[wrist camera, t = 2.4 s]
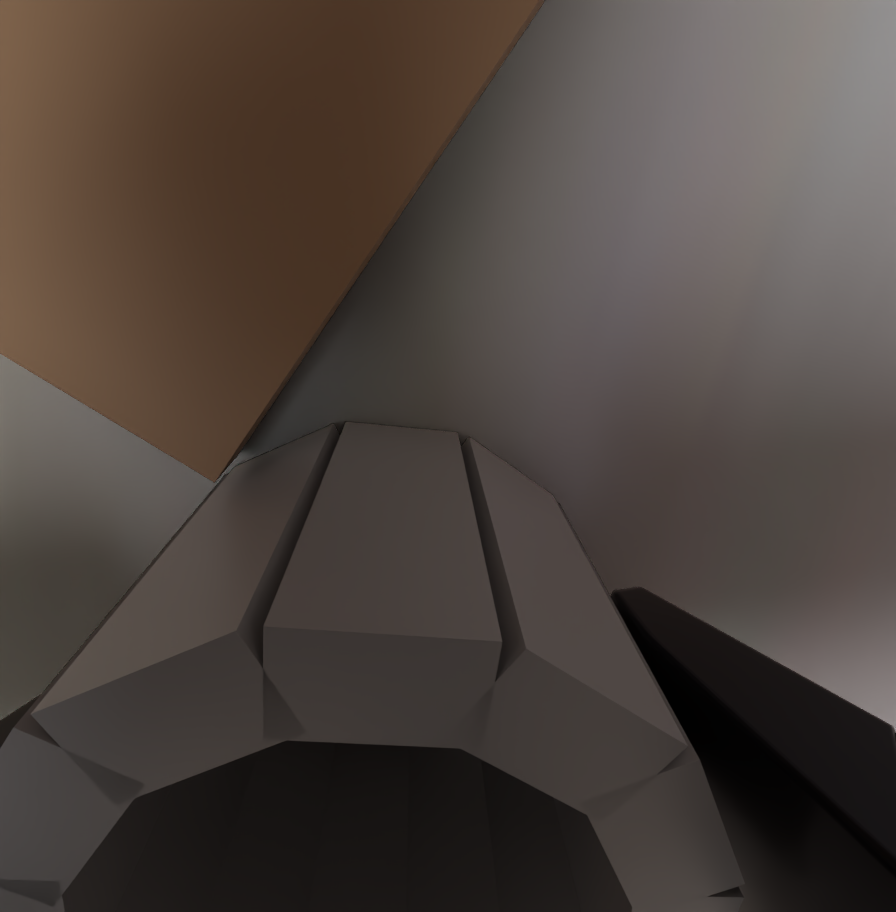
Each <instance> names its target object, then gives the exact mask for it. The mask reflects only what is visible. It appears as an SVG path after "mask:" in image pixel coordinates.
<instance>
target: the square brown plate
mask: <svg viewBox="0 0 896 912" xmlns="http://www.w3.org/2000/svg"><path fill="white" fill-rule="evenodd" d="M544 2H545V0H0V354H2V355H4V356H5V357H7V358H9V359H10V360H12V361H14V362H15V363H17V364H19V365H20V366H22V367H24V368H25V369H27V370H28V371H30V372H32V373H33V374H35V375H37V376H38V377H40V378H42V379H43V380H45V381H47V382H48V383H50V384H52V385H53V386H55V387H57V388H58V389H60V390H62V391H63V392H65V393H67V394H68V395H70V396H72V397H73V398H75V399H77V400H78V401H80V402H82V403H83V404H85V405H87V406H88V407H90V408H92V409H93V410H95V411H97V412H98V413H100V414H102V415H103V416H105V417H106V418H108V419H110V420H111V421H113V422H115V423H116V424H118V425H120V426H121V427H123V428H125V429H126V430H128V431H130V432H131V433H133V434H135V435H136V436H138V437H140V438H141V439H143V440H145V441H146V442H148V443H150V444H151V445H153V446H155V447H156V448H158V449H160V450H161V451H163V452H165V453H166V454H168V455H170V456H171V457H173V458H175V459H176V460H178V461H180V462H181V463H183V464H184V465H186V466H188V467H189V468H191V469H193V470H194V471H196V472H198V473H199V474H201V475H203V476H204V477H206V478H208V479H209V480H211V481H213V482H214V483H215V481H216V480H217V479H218V478H219V477H220V476H221V474H222V473H223V472H224V471H225V470H226V469H227V467H228V466H229V465H230V464H231V463H232V461H233V460H234V459H235V458H236V457H237V456H238V454H239V453H240V451H241V450H242V449H243V447H244V446H245V444H246V443H247V441H248V440H249V438H250V437H251V435H252V434H253V432H254V431H255V429H256V428H257V426H258V425H259V423H260V422H261V420H262V419H263V417H264V416H265V414H266V413H267V411H268V410H269V409H270V407H271V406H272V404H273V403H274V401H275V400H276V398H277V397H278V395H279V394H280V392H281V391H282V389H283V388H284V386H285V385H286V383H287V382H288V380H289V379H290V377H291V376H292V374H293V373H294V372H295V370H296V369H297V367H298V366H299V364H300V363H301V361H302V360H303V358H304V357H305V355H306V354H307V352H308V351H309V349H310V348H311V346H312V345H313V343H314V342H315V340H316V339H317V337H318V336H319V335H320V333H321V332H322V330H323V329H324V327H325V326H326V324H327V323H328V321H329V320H330V318H331V317H332V315H333V314H334V312H335V311H336V309H337V308H338V306H339V305H340V303H341V302H342V300H343V299H344V298H345V296H346V295H347V293H348V292H349V290H350V289H351V287H352V286H353V284H354V283H355V281H356V280H357V278H358V277H359V275H360V274H361V272H362V271H363V269H364V268H365V266H366V265H367V263H368V262H369V261H370V259H371V258H372V256H373V255H374V253H375V252H376V250H377V249H378V247H379V246H380V244H381V243H382V241H383V240H384V238H385V237H386V235H387V234H388V232H389V231H390V229H391V228H392V226H393V225H394V224H395V222H396V221H397V219H398V218H399V216H400V215H401V213H402V212H403V210H404V209H405V207H406V206H407V204H408V203H409V201H410V200H411V198H412V197H413V195H414V194H415V192H416V191H417V189H418V188H419V187H420V185H421V184H422V182H423V181H424V179H425V178H426V176H427V175H428V173H429V172H430V170H431V169H432V167H433V166H434V164H435V163H436V161H437V160H438V158H439V157H440V155H441V154H442V152H443V151H444V150H445V148H446V147H447V145H448V144H449V142H450V141H451V139H452V138H453V136H454V135H455V133H456V132H457V130H458V129H459V127H460V126H461V124H462V123H463V121H464V120H465V118H466V117H467V115H468V114H469V113H470V111H471V110H472V108H473V107H474V105H475V104H476V102H477V101H478V99H479V98H480V96H481V95H482V93H483V92H484V90H485V89H486V87H487V86H488V84H489V83H490V81H491V80H492V78H493V77H494V76H495V74H496V73H497V71H498V70H499V68H500V67H501V65H502V64H503V62H504V61H505V59H506V58H507V56H508V55H509V53H510V52H511V50H512V49H513V47H514V46H515V44H516V43H517V41H518V40H519V39H520V37H521V36H522V34H523V33H524V31H525V30H526V28H527V27H528V25H529V24H530V22H531V21H532V19H533V18H534V16H535V15H536V13H537V12H538V10H539V9H540V7H541V6H542V4H543V3H544Z"/></svg>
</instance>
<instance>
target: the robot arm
mask: <svg viewBox="0 0 896 912" xmlns="http://www.w3.org/2000/svg"><path fill="white" fill-rule="evenodd" d="M611 599H612V601H613V602H614V604H615V606H616V608H617V610H618V611H619V613H620V615H621V617H622V619H623V621H624V622H625V624H626V626H627V628H628V630H629V632H630V633H631V635H632V637H633V639H634V641H635V642H636V644H637V646H638V648H639V650H640V652H641V653H642V655H643V657H644V659H645V661H646V663H647V664H648V666H649V668H650V670H651V672H652V673H653V675H654V677H655V679H656V681H657V683H658V684H659V686H660V688H661V690H662V692H663V694H664V695H665V697H666V699H667V701H668V703H669V704H670V706H671V708H672V710H673V712H674V714H675V715H676V717H677V719H678V721H679V723H680V725H681V726H682V728H683V730H684V732H685V734H686V735H687V737H688V739H689V741H690V743H691V745H692V746H693V748H694V750H695V752H696V754H697V756H698V757H699V759H700V762H701V764H702V767H703V770H704V773H705V775H706V778H707V781H708V784H709V786H710V789H711V792H712V795H713V797H714V800H715V803H716V806H717V808H718V811H719V814H720V817H721V819H722V822H723V825H724V828H725V830H726V833H727V836H728V839H729V841H730V844H731V847H732V850H733V852H734V855H735V858H736V861H737V863H738V866H739V869H740V872H741V874H742V877H743V880H744V883H745V884H744V885H741V886H739V888H740V890H741V892H742V894H743V896H744V899H743V902H742V904H741V906H740V908H739V911H738V912H896V733H895V729H894V727H893V726H892V725H890V724H888V723H886V722H885V721H883V720H881V719H879V718H877V717H876V716H874V715H872V714H870V713H868V712H866V711H865V710H863V709H861V708H859V707H857V706H856V705H854V704H852V703H850V702H848V701H847V700H845V699H843V698H841V697H839V696H838V695H836V694H834V693H832V692H830V691H829V690H827V689H825V688H823V687H821V686H820V685H818V684H816V683H814V682H812V681H810V680H809V679H807V678H805V677H803V676H801V675H800V674H798V673H796V672H794V671H792V670H791V669H789V668H787V667H785V666H783V665H782V664H780V663H778V662H776V661H774V660H773V659H771V658H769V657H767V656H765V655H763V654H762V653H760V652H758V651H756V650H754V649H753V648H751V647H749V646H747V645H745V644H744V643H742V642H740V641H738V640H736V639H735V638H733V637H731V636H729V635H727V634H726V633H724V632H722V631H720V630H718V629H716V628H715V627H713V626H711V625H709V624H707V623H706V622H704V621H702V620H700V619H698V618H697V617H695V616H693V615H691V614H689V613H688V612H686V611H684V610H682V609H680V608H679V607H677V606H675V605H673V604H671V603H670V602H668V601H666V600H664V599H662V598H660V597H659V596H657V595H655V594H653V593H651V592H650V591H648V590H646V589H644V588H642V587H633V588H626V589H619V590H614V591H613V592H612V594H611ZM39 696H40V695H39ZM39 696H38V697H36V698H34V699H33V700H31V701H30V702H28V703H27V704H25V705H24V706H22V707H21V708H19V709H17V710H16V711H14V712H13V713H11V714H10V715H8V716H7V717H5V718H4V719H2V720H1V721H0V748H1V746H2V745H3V743H4V742H5V740H6V738H7V737H8V735H9V734H10V732H11V731H12V729H13V727H14V726H15V725H16V724H17V723H18V721H19V720H20V719H21V718H22V717H23V715H24V714H25V713H26V712H27V711H28V709H29V708H30V707H31V706H32V705H33V703H34V702H35V701H36V700H37V699H38V698H39Z"/></svg>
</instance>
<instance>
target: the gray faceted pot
mask: <svg viewBox="0 0 896 912" xmlns="http://www.w3.org/2000/svg"><path fill="white" fill-rule="evenodd" d="M744 884H745V883H744V880H743V877H742V874H741V872H740V869H739V866H738V863H737V861H736V858H735V855H734V852H733V850H732V847H731V844H730V841H729V839H728V836H727V833H726V830H725V828H724V825H723V822H722V819H721V817H720V814H719V811H718V808H717V806H716V803H715V800H714V797H713V795H712V792H711V789H710V786H709V784H708V781H707V778H706V775H705V773H704V770H703V767H702V764H701V762H700V759H699V757H698V756H697V754H696V752H695V750H694V748H693V746H692V745H691V743H690V741H689V739H688V737H687V735H686V734H685V732H684V730H683V728H682V726H681V725H680V723H679V721H678V719H677V717H676V715H675V714H674V712H673V710H672V708H671V706H670V704H669V703H668V701H667V699H666V697H665V695H664V694H663V692H662V690H661V688H660V686H659V684H658V683H657V681H656V679H655V677H654V675H653V673H652V672H651V670H650V668H649V666H648V664H647V663H646V661H645V659H644V657H643V655H642V653H641V652H640V650H639V648H638V646H637V644H636V642H635V641H634V639H633V637H632V635H631V633H630V632H629V630H628V628H627V626H626V624H625V622H624V621H623V619H622V617H621V615H620V613H619V611H618V610H617V608H616V606H615V604H614V602H613V601H612V599H611V597H610V595H609V593H608V591H607V590H606V588H605V586H604V584H603V582H602V580H601V579H600V577H599V575H598V573H597V571H596V570H595V568H594V566H593V564H592V562H591V560H590V559H589V557H588V555H587V553H586V551H585V549H584V548H583V546H582V544H581V542H580V540H579V539H578V537H577V535H576V533H575V531H574V529H573V528H572V526H571V524H570V522H569V520H568V519H567V517H566V515H565V513H564V511H563V509H562V508H561V506H560V504H559V503H558V504H557V502H556V501H555V499H554V497H553V495H552V494H551V493H549V492H548V491H546V490H545V489H543V488H542V487H541V486H539V485H538V484H536V483H535V482H533V481H532V480H531V479H529V478H528V477H526V476H525V475H523V474H522V473H521V472H519V471H518V470H516V469H515V468H513V467H512V466H511V465H509V464H508V463H506V462H505V461H503V460H502V459H501V458H499V457H498V456H496V455H495V454H493V453H492V452H491V451H489V450H488V449H486V448H485V447H483V446H482V445H481V444H479V443H478V442H476V441H475V440H473V439H472V438H471V437H468V438H467V440H466V441H465V442H464V444H463V445H462V446H460V441H459V437H458V432H449V431H439V430H428V429H418V428H408V427H397V426H387V425H376V424H366V423H356V422H346V423H345V425H344V428H343V430H342V433H341V435H339V433H338V431H337V429H336V427H335V425H334V424H331V425H329V426H327V427H324V428H322V429H320V430H318V431H315V432H313V433H311V434H308V435H306V436H304V437H302V438H299V439H297V440H295V441H292V442H290V443H288V444H286V445H283V446H281V447H279V448H276V449H274V450H272V451H270V452H267V453H265V454H263V455H260V456H258V457H256V458H254V459H251V460H249V461H247V462H244V463H242V464H240V465H238V466H235V467H234V468H233V469H232V470H231V471H230V473H229V474H228V475H226V474H225V475H224V476H223V478H222V479H221V480H220V481H219V482H218V484H217V485H216V486H215V487H214V488H213V490H212V491H211V492H210V493H209V494H208V496H207V497H206V498H205V499H204V500H203V502H202V503H201V504H200V505H199V506H198V508H197V509H196V510H195V511H194V512H193V514H192V515H191V516H190V517H189V518H188V520H187V521H186V522H185V523H184V524H183V525H182V527H181V528H180V529H179V530H178V531H177V533H176V534H175V535H174V536H173V537H172V539H171V540H170V541H169V542H168V543H167V545H166V546H165V547H164V548H163V549H162V551H161V552H160V553H159V554H158V555H157V557H156V558H155V559H154V560H153V561H152V563H151V564H150V565H149V566H148V567H147V568H146V570H145V571H144V572H143V573H142V574H141V576H140V577H139V578H138V579H137V580H136V582H135V583H134V584H133V585H132V586H131V588H130V589H129V590H128V591H127V592H126V594H125V595H124V596H123V597H122V598H121V600H120V601H119V602H118V603H117V604H116V606H115V607H114V608H113V609H112V610H111V611H110V613H109V614H108V615H107V616H106V617H105V619H104V620H103V621H102V622H101V623H100V625H99V626H98V627H97V628H96V629H95V631H94V632H93V633H92V634H91V635H90V637H89V638H88V639H87V640H86V641H85V643H84V644H83V645H82V646H81V647H80V649H79V650H78V651H77V652H76V653H75V655H74V656H73V657H72V658H71V659H70V660H69V662H68V663H67V664H66V665H65V666H64V668H63V669H62V670H61V671H60V672H59V674H58V675H57V676H56V677H55V678H54V680H53V681H52V682H51V683H50V684H49V686H48V687H47V688H46V689H45V690H44V692H43V693H42V694H41V695H40V696H39V698H38V699H37V700H36V701H35V702H34V703H33V705H32V706H31V707H30V708H29V709H28V711H27V712H26V713H25V714H24V715H23V717H22V718H21V719H20V720H19V721H18V723H17V724H16V725H15V726H14V727H13V729H12V731H11V732H10V734H9V735H8V737H7V738H6V740H5V742H4V743H3V745H2V746H1V748H0V912H738V911H739V908H740V906H741V904H742V902H743V899H744V896H743V894H742V892H741V890H740V888H739V886H741V885H744Z"/></svg>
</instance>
